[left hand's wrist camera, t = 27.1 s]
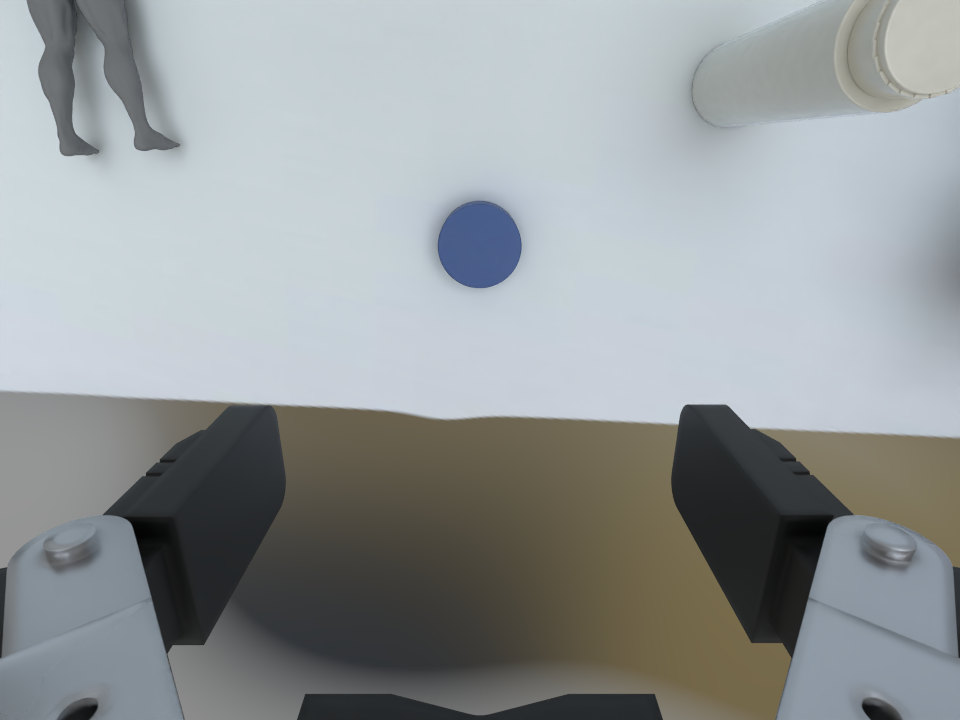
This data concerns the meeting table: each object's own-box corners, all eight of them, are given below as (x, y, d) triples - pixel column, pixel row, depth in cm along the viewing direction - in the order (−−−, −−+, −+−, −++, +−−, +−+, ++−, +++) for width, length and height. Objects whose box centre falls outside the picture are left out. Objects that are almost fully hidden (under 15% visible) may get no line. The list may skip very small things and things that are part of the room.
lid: (534, 246, 36) (538, 252, 34) (475, 295, 37) (474, 304, 35) (484, 183, 35) (484, 185, 33) (424, 236, 36) (420, 242, 34)
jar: (679, 68, 32) (852, -2, 17) (755, 24, 32) (1005, -91, 17) (708, 142, 34) (891, 135, 19) (781, 101, 33) (1033, 60, 18)
